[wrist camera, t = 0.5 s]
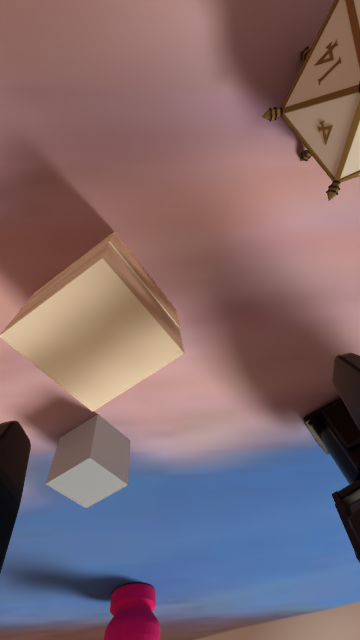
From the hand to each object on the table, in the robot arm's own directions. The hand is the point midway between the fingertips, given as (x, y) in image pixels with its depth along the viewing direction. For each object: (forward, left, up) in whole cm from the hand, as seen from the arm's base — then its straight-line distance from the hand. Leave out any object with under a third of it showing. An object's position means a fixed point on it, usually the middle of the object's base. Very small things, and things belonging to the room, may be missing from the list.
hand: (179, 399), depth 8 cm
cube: (-10, +15, -14) cm, 23 cm away
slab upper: (0, +5, -11) cm, 12 cm away
